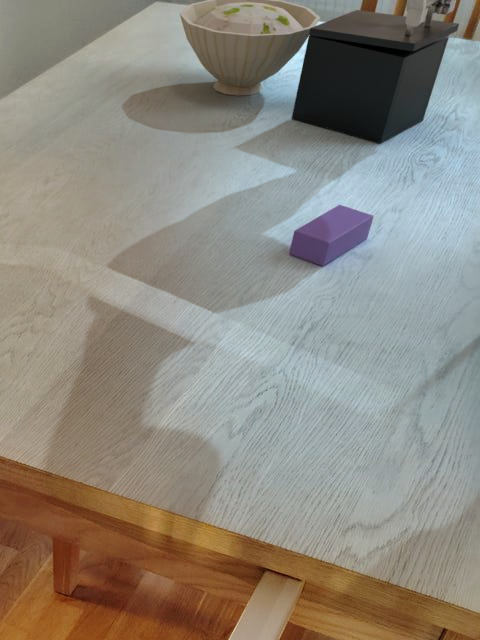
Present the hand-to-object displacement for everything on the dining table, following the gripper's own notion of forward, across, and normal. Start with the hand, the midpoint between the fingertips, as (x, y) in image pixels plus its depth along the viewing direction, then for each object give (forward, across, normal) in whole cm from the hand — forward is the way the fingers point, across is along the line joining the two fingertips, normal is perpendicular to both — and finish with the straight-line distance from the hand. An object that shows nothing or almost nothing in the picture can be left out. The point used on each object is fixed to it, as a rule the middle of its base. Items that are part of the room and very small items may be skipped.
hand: (429, 19), depth 110 cm
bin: (+12, 0, +6) cm, 14 cm away
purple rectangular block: (+13, -36, -11) cm, 40 cm away
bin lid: (+2, 0, +6) cm, 6 cm away
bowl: (+12, 0, +26) cm, 28 cm away
